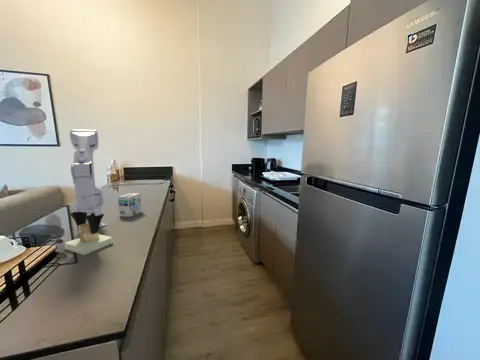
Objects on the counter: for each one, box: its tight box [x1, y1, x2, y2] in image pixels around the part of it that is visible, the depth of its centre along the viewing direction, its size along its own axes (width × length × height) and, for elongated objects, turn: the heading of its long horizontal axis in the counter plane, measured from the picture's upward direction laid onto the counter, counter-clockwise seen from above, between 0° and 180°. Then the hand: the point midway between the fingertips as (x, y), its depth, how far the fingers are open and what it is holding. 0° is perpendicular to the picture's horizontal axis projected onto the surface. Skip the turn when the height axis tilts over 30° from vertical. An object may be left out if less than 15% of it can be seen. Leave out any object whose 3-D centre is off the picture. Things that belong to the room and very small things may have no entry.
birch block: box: [78, 223, 100, 243], centre depth 90 cm, size 4×4×6 cm
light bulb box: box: [117, 192, 142, 218], centre depth 131 cm, size 11×7×11 cm, turn 168°
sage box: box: [64, 233, 114, 256], centre depth 90 cm, size 11×11×3 cm
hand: (88, 231), depth 89 cm, fingers open, 7 cm apart
